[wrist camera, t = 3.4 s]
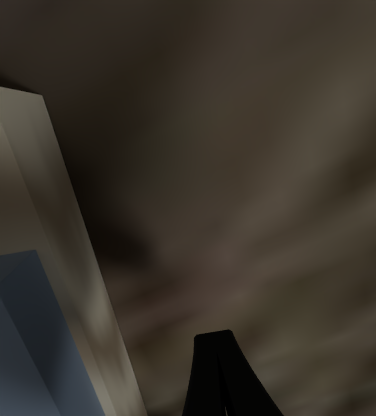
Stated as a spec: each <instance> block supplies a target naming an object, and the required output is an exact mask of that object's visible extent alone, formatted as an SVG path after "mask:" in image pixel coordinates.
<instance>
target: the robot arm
mask: <svg viewBox="0 0 376 416" xmlns="http://www.w3.org/2000/svg"><path fill="white" fill-rule="evenodd" d="M225 407H226V411H227V415H228V416H284V415H283V414H282V413H281V411H280V410H279V409H278V407H277V406H276V404H275V403H274V402H273V400H272V399H271V397H270V396H269V394H268V393H267V391H266V390H265V388H264V387H263V385H262V384H261V382H260V381H259V379H258V378H257V376H256V375H255V373H254V371H253V370H252V368H251V367H250V365H249V363H248V362H247V360H246V358H245V356H244V355H243V353H242V351H241V349H240V347H239V345H238V343H237V341H236V339H235V337H234V335H233V332H232V331H231V330H229V329H228V330H222V331H216V332H210V333H204V334H199V335H196V336H195V337H194V353H193V362H192V369H191V375H190V381H189V386H188V391H187V396H186V401H185V406H184V410H183V414H182V416H226V411H225Z"/></svg>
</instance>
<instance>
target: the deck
mask: <svg viewBox="0 0 376 416" xmlns="http://www.w3.org/2000/svg"><path fill="white" fill-rule="evenodd" d="M35 249H36V251H37V254H38V256H39V258H40V261H41V263H42V266H43V268H44V270H45V273H46V275H47V278H48V280H49V282H50V285H51V287H52V289H53V292H54V294H55V297H56V299H57V301H58V304H59V306H60V308H61V311H62V313H63V316H64V318H65V320H66V323H67V325H68V327H69V330H70V332H71V335H72V337H73V339H74V342H75V344H76V347H77V349H78V351H79V354H80V356H81V358H82V361H83V363H84V366H85V368H86V370H87V373H88V375H89V377H90V380H91V382H92V385H93V387H94V389H95V392H96V394H97V396H98V399H99V401H100V404H101V406H102V408H103V411H104V413H105V416H148V415H147V412H146V409H145V406H144V403H143V399H142V396H141V393H140V390H139V387H138V384H137V381H136V378H135V375H134V372H133V369H132V366H131V363H130V360H129V357H128V354H127V351H126V348H125V345H124V342H123V339H122V336H121V333H120V330H119V327H118V324H117V321H116V318H115V315H114V312H113V309H112V306H111V303H110V299H109V296H108V293H107V290H106V287H105V284H104V281H103V278H102V275H101V272H100V269H99V266H98V263H97V260H96V257H95V254H94V251H93V248H92V245H91V242H90V239H89V236H88V233H87V230H86V227H85V224H84V221H83V218H82V215H81V212H80V209H79V206H78V203H77V199H76V196H75V193H74V190H73V187H72V184H71V181H70V178H69V175H68V172H67V169H66V166H65V163H64V160H63V157H62V154H61V151H60V148H59V145H58V142H57V139H56V136H55V133H54V130H53V127H52V124H51V121H50V118H49V115H48V112H47V109H46V106H45V103H44V99H43V96H42V95H38V94H33V93H29V92H24V91H19V90H14V89H9V88H4V87H0V255H6V254H12V253H17V252H23V251H29V250H35Z"/></svg>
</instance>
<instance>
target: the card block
mask: <svg viewBox="0 0 376 416" xmlns="http://www.w3.org/2000/svg"><path fill="white" fill-rule="evenodd" d="M0 416H105V413H104V411H103V408H102V406H101V404H100V401H99V399H98V396H97V394H96V392H95V389H94V387H93V385H92V382H91V380H90V377H89V375H88V373H87V370H86V368H85V366H84V363H83V361H82V358H81V356H80V354H79V351H78V349H77V347H76V344H75V342H74V339H73V337H72V335H71V332H70V330H69V327H68V325H67V323H66V320H65V318H64V316H63V313H62V311H61V308H60V306H59V304H58V301H57V299H56V297H55V294H54V292H53V289H52V287H51V285H50V282H49V280H48V278H47V275H46V273H45V270H44V268H43V266H42V263H41V261H40V258H39V256H38V254H37V251H36V249H35V250H29V251H23V252H17V253H12V254H6V255H0Z"/></svg>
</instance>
